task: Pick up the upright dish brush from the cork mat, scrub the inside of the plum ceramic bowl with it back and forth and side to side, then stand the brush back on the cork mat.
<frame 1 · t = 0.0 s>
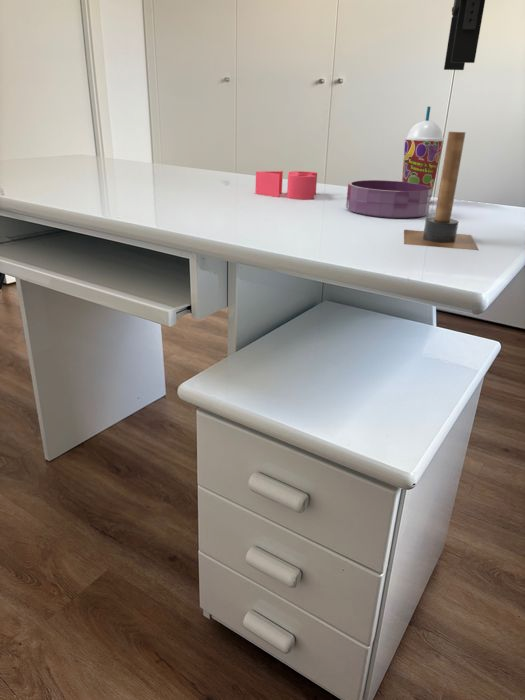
hand: (457, 66, 72), 25 cm above the table, tool pointing down, fingers open, 13 cm apart
bowl: (386, 213, 108), on the table
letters: (285, 195, 127), on the table
brush: (438, 239, 86), resting on cork mat
smoothie: (415, 202, 123), on the table
cork mat: (438, 242, 86), on the table
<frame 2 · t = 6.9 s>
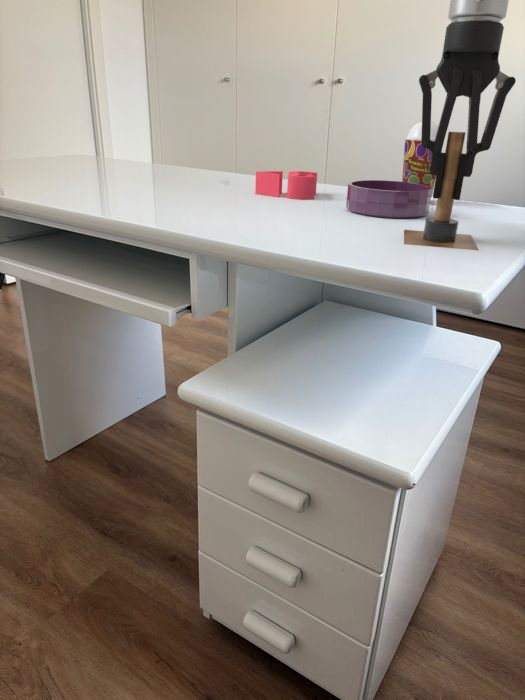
hand: (445, 197, 83), 7 cm above the table, tool pointing down, fingers closed on brush, 2 cm apart
brush: (438, 239, 86), resting on cork mat, touching gripper
everything else where it was.
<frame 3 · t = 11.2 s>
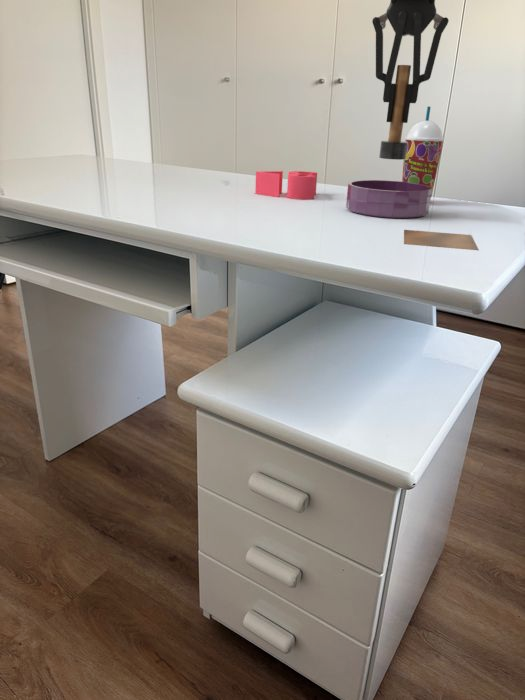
hand: (396, 122, 101), 17 cm above the table, tool pointing down, fingers closed on brush, 2 cm apart
brush: (392, 158, 104), point 11 cm above the table, touching gripper
everything else where it was.
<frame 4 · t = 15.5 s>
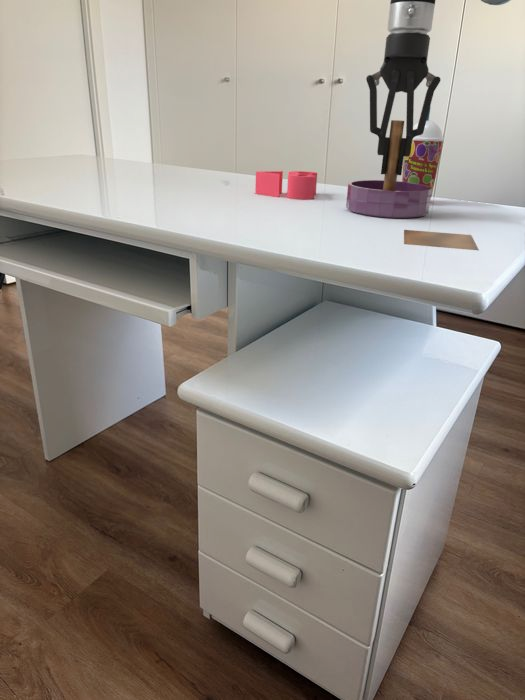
hand: (391, 173, 104), 8 cm above the table, tool pointing down, fingers closed on brush, 2 cm apart
brush: (386, 207, 106), point 1 cm above the table, touching gripper
everything else where it was.
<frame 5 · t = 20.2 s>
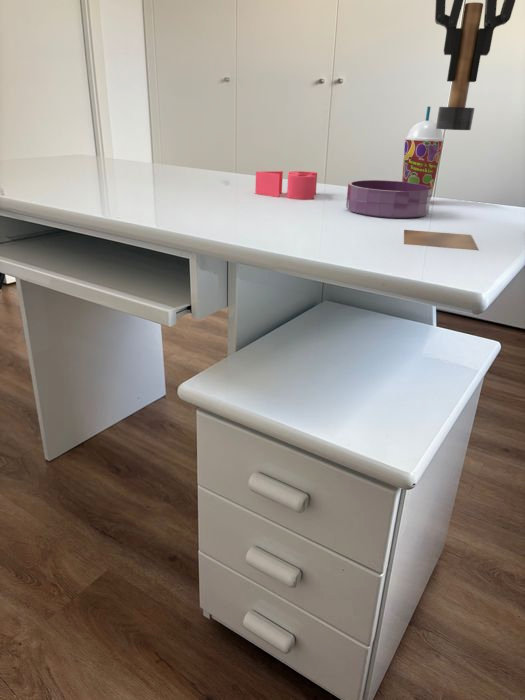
hand: (461, 80, 78), 23 cm above the table, tool pointing down, fingers closed on brush, 2 cm apart
brush: (453, 129, 80), point 17 cm above the table, touching gripper
everything else where it was.
when the fingers open (7 cm above the table, at t = 24.0 s): brush stays where it is, resting on cork mat.
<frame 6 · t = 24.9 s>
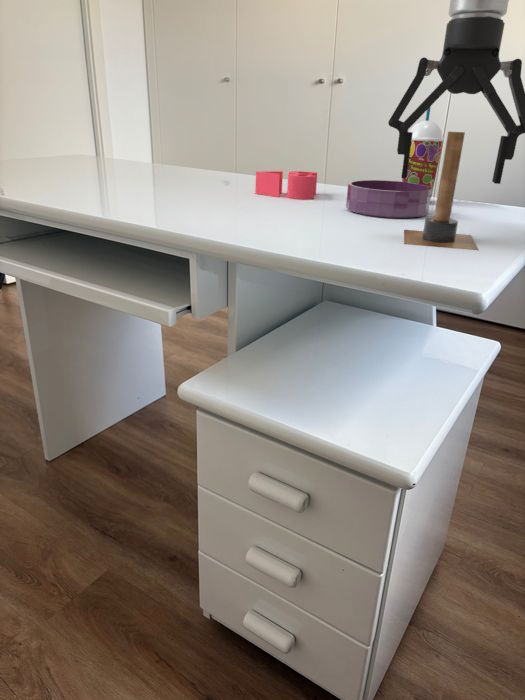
hand: (449, 180, 82), 10 cm above the table, tool pointing down, fingers open, 13 cm apart
brush: (438, 239, 86), resting on cork mat
everything else where it was.
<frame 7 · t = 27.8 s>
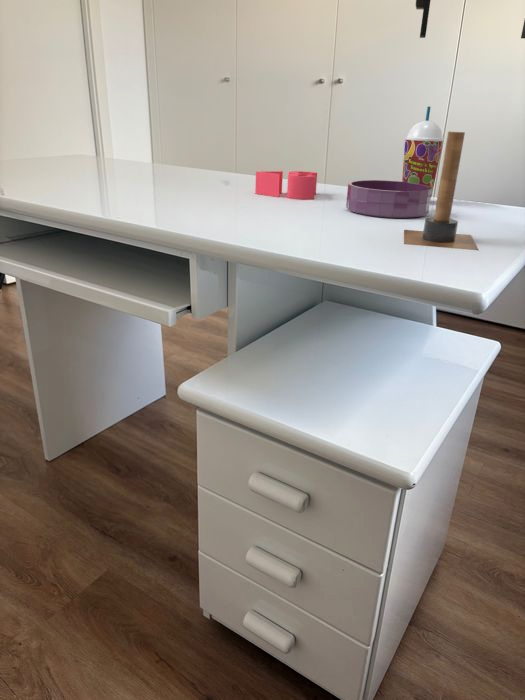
hand: (473, 37, 74), 29 cm above the table, tool pointing down, fingers open, 13 cm apart
nothing on the table moved.
at the end: brush inside the target area on the cork mat (0.1 cm from its centre), point 0.5 cm above the cork mat's base; brush tilted 0°; brush touching cork mat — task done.
